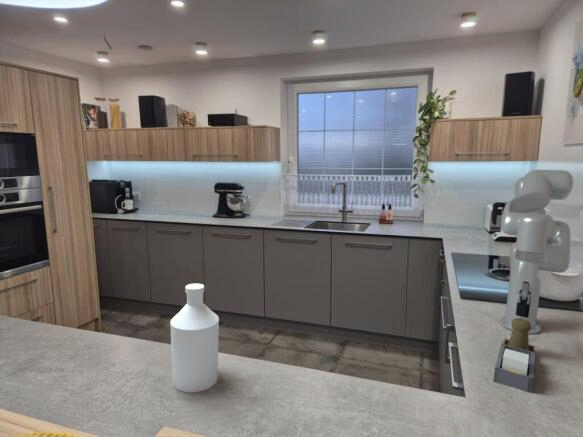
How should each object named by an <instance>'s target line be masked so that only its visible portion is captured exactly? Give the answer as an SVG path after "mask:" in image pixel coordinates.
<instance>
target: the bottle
mask: <svg viewBox="0 0 583 437" xmlns="http://www.w3.org/2000/svg"><path fill="white" fill-rule="evenodd" d="M184 291H185V293H186V304H185V305H184V306H183V307H182V308H181V310H180V311H179V312H177V313H176V314H175V315H174V316H173V317H172V319H171V320H170V344H171V345H170V349H171V375H172V376H171V377H172V378H171V379H172V380H171V381H172V386H173V388H175V389H176V390H178V391H180V392H183V393H199V392H202V391H205V390H208V389H210V388H212V387H213V386H214V385H215V384H216V383H217V381H218V376H219V375H218V374H219V373H218V368H219V367H218V366H219V332H220V330H219V329H220V325H219V322H220V318H219V316H218V315H217V314H216V313H215V312H214V311H212V310H211V309H210V308H209V307H208V306H207V305H206V304H205V303H204V292H205V285H204V284H202V283H189V284H187V285H185V289H184Z"/></svg>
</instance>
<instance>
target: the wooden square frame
mask: <svg viewBox="0 0 583 437" xmlns="http://www.w3.org/2000/svg"><path fill="white" fill-rule="evenodd" d="M509 340H510V339H508V338H503V341H502V344H505V345H508V344H509ZM535 348H536V346H535V345H531V344H529V351H533V352H536V350H535Z"/></svg>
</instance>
